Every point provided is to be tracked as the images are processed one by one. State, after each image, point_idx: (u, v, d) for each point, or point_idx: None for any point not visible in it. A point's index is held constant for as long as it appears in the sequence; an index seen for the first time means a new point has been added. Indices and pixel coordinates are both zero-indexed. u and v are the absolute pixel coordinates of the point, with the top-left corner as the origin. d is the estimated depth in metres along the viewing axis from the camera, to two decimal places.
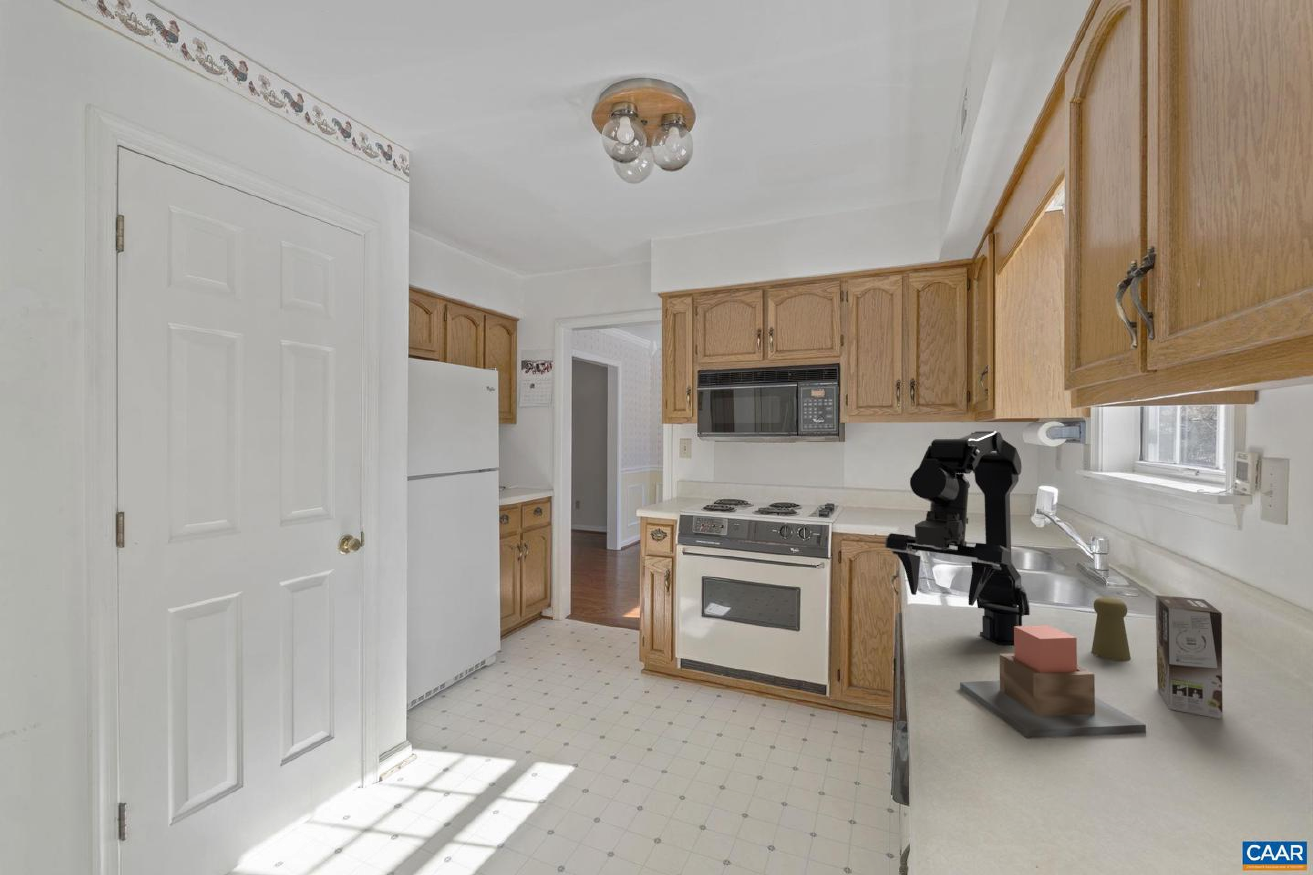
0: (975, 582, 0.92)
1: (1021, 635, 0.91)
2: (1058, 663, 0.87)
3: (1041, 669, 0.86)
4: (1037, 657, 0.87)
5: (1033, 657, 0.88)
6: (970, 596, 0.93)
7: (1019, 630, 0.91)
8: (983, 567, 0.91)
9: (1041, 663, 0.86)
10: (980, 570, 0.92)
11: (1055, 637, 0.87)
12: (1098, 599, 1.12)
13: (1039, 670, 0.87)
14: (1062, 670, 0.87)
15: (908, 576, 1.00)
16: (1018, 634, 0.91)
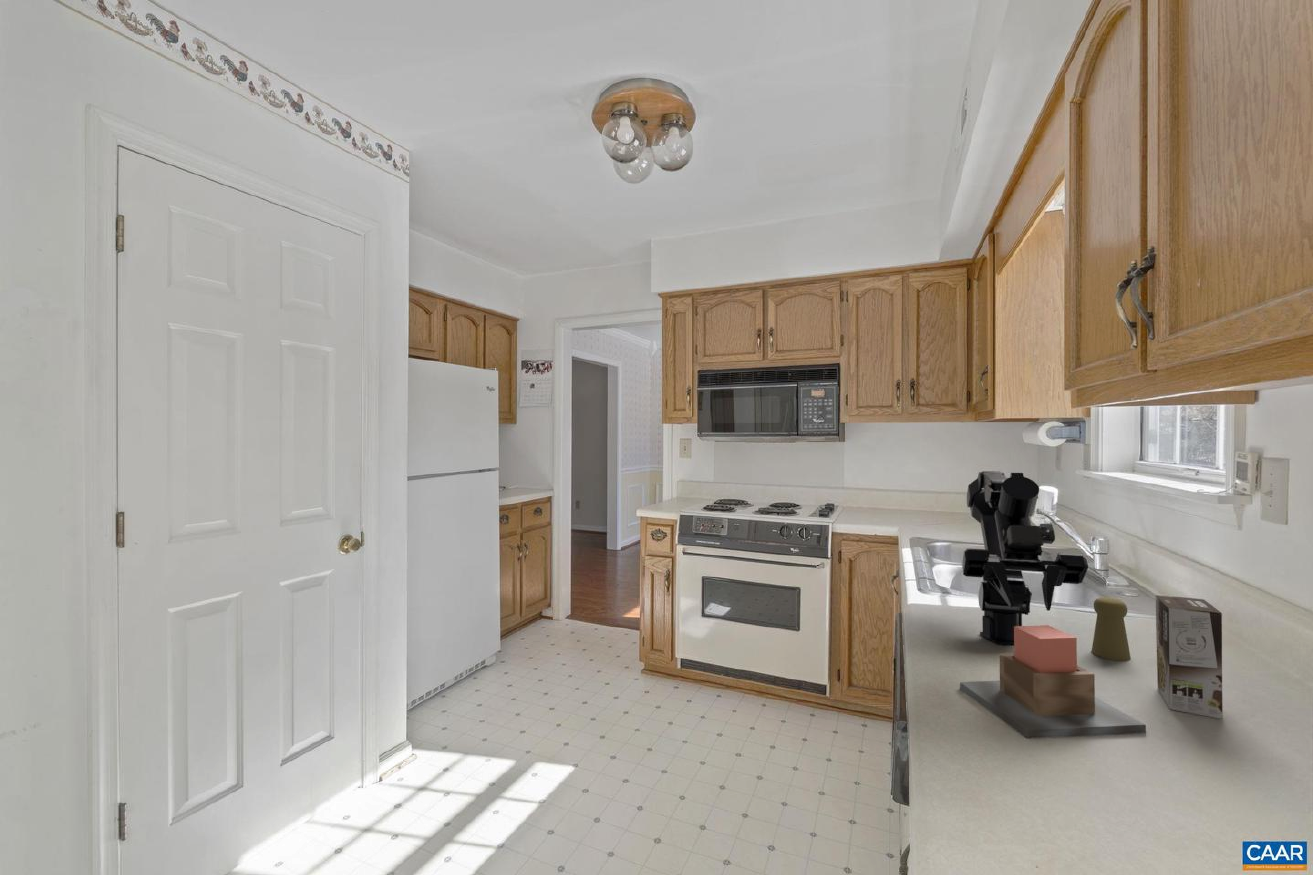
0: (1051, 586, 0.98)
1: (1021, 635, 0.91)
2: (1058, 663, 0.87)
3: (1041, 669, 0.86)
4: (1037, 657, 0.87)
5: (1033, 657, 0.88)
6: (1049, 599, 0.97)
7: (1019, 630, 0.91)
8: (1059, 570, 0.98)
9: (1041, 663, 0.86)
10: (1055, 574, 0.98)
11: (1055, 637, 0.87)
12: (1098, 599, 1.12)
13: (1039, 670, 0.87)
14: (1062, 670, 0.87)
15: (1005, 587, 1.00)
16: (1018, 634, 0.91)
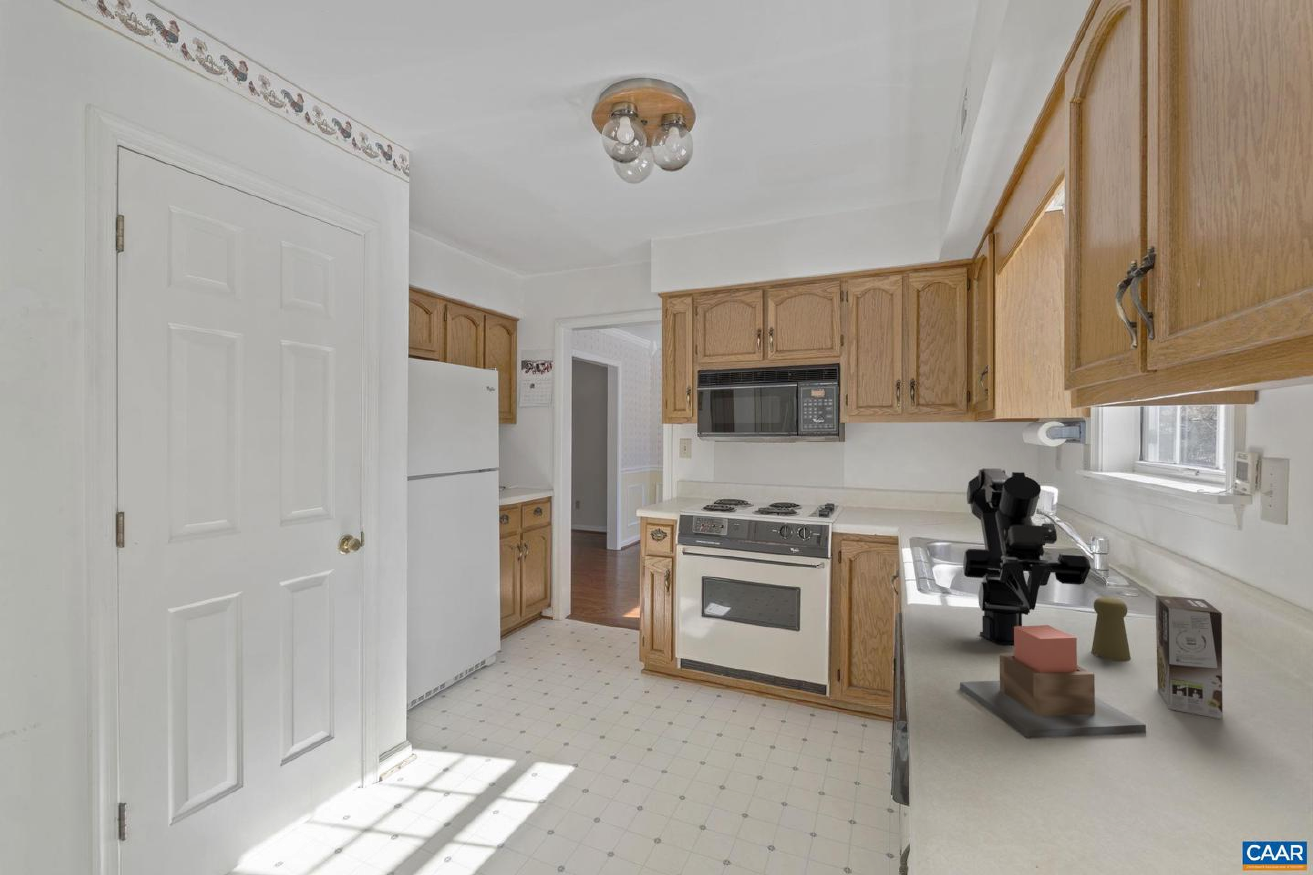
0: (1036, 585, 0.98)
1: (1021, 635, 0.91)
2: (1058, 663, 0.87)
3: (1041, 669, 0.86)
4: (1037, 657, 0.87)
5: (1033, 657, 0.88)
6: (1033, 598, 0.97)
7: (1019, 630, 0.91)
8: (1044, 569, 0.98)
9: (1041, 663, 0.86)
10: (1040, 573, 0.98)
11: (1055, 637, 0.87)
12: (1098, 599, 1.12)
13: (1039, 670, 0.87)
14: (1062, 670, 0.87)
15: (1023, 589, 0.98)
16: (1018, 634, 0.91)
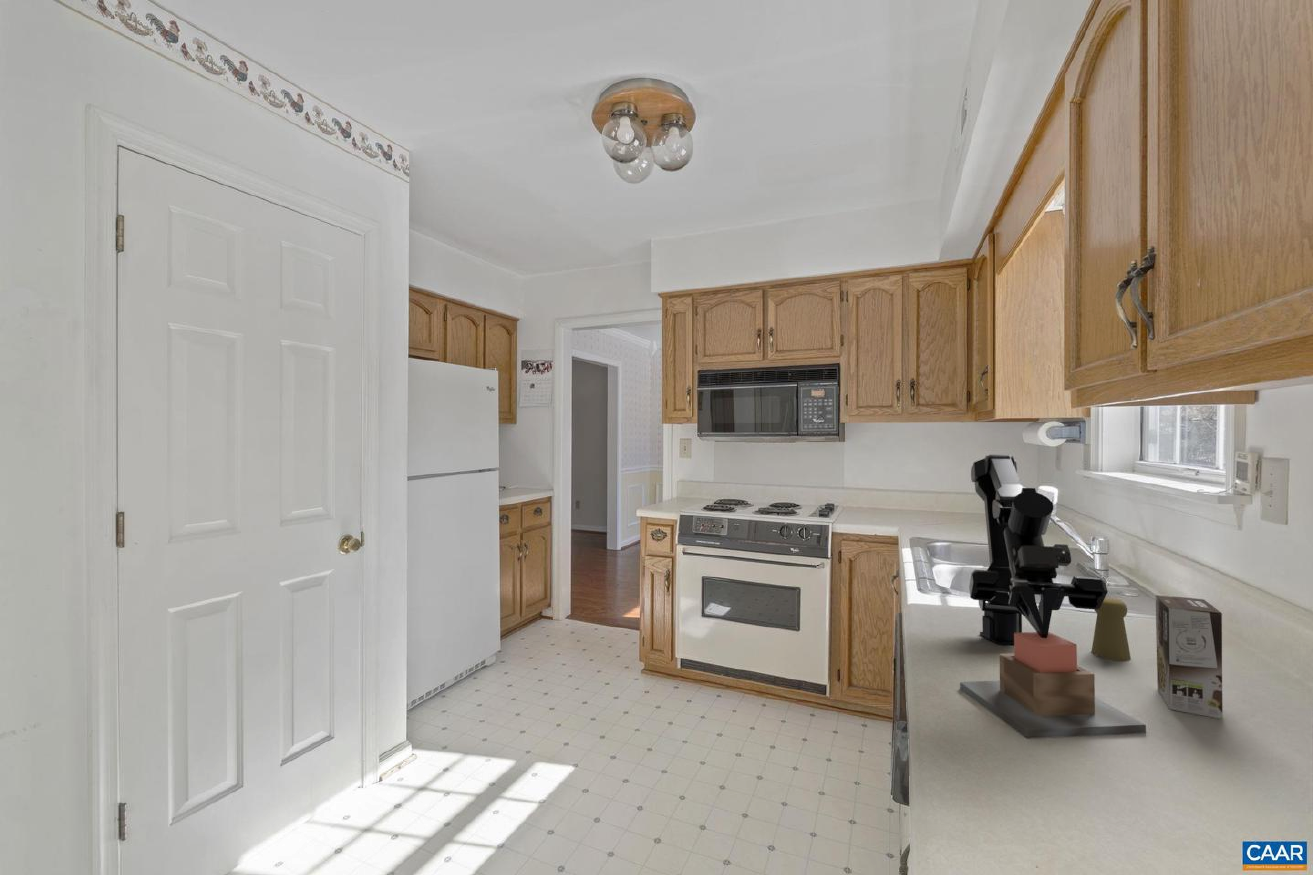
0: (1048, 611, 0.91)
1: (1021, 641, 0.91)
2: (1058, 670, 0.87)
3: None
4: (1037, 663, 0.87)
5: (1033, 664, 0.88)
6: (1046, 625, 0.90)
7: (1019, 636, 0.91)
8: (1057, 594, 0.91)
9: (1041, 670, 0.86)
10: (1052, 598, 0.91)
11: (1055, 644, 0.87)
12: None
13: None
14: None
15: (1034, 615, 0.91)
16: (1018, 640, 0.91)
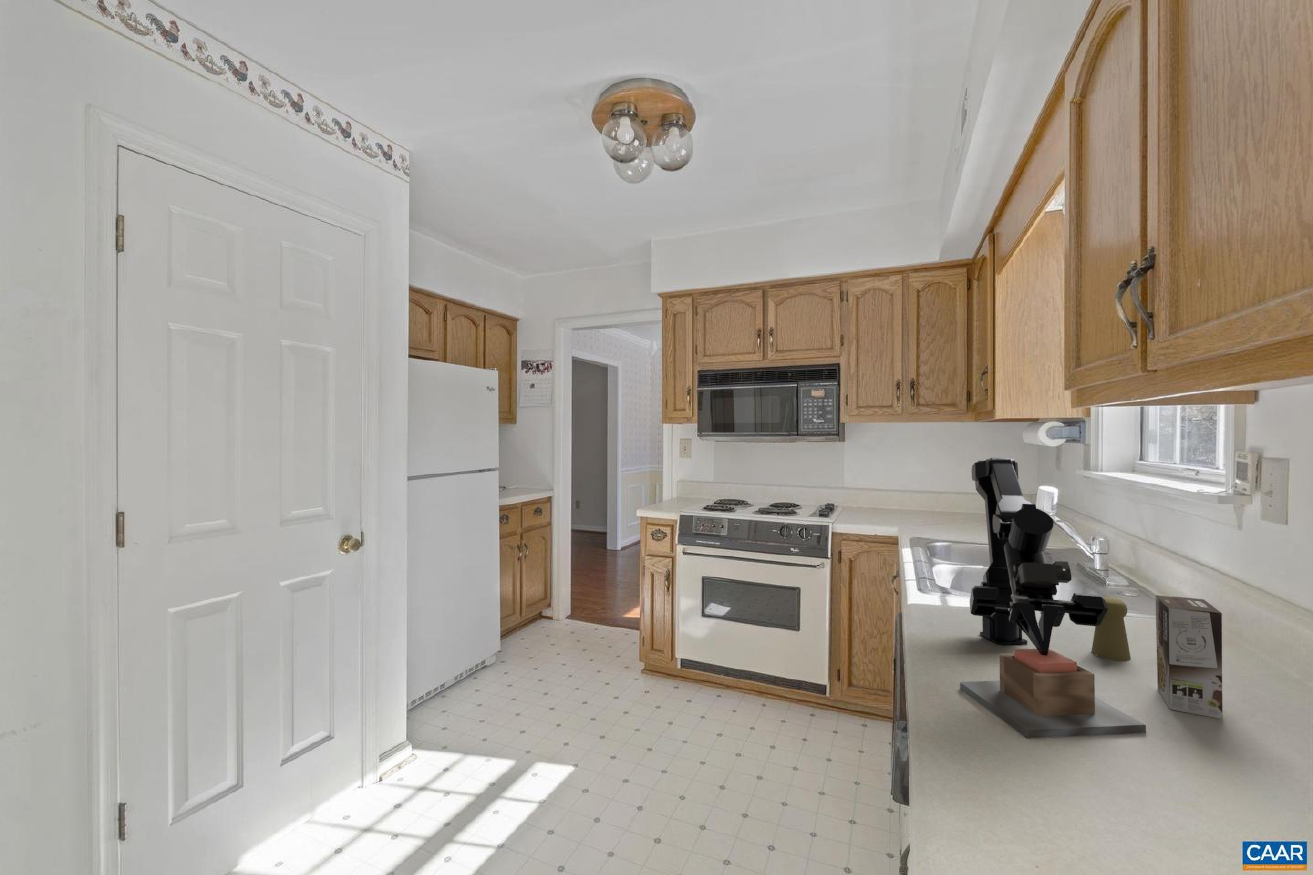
0: (1048, 628, 0.91)
1: (1021, 659, 0.91)
2: None
3: None
4: None
5: None
6: (1046, 643, 0.90)
7: (1019, 654, 0.91)
8: (1057, 611, 0.91)
9: None
10: (1053, 615, 0.91)
11: (1055, 662, 0.87)
12: None
13: None
14: None
15: (1035, 632, 0.91)
16: (1018, 657, 0.91)
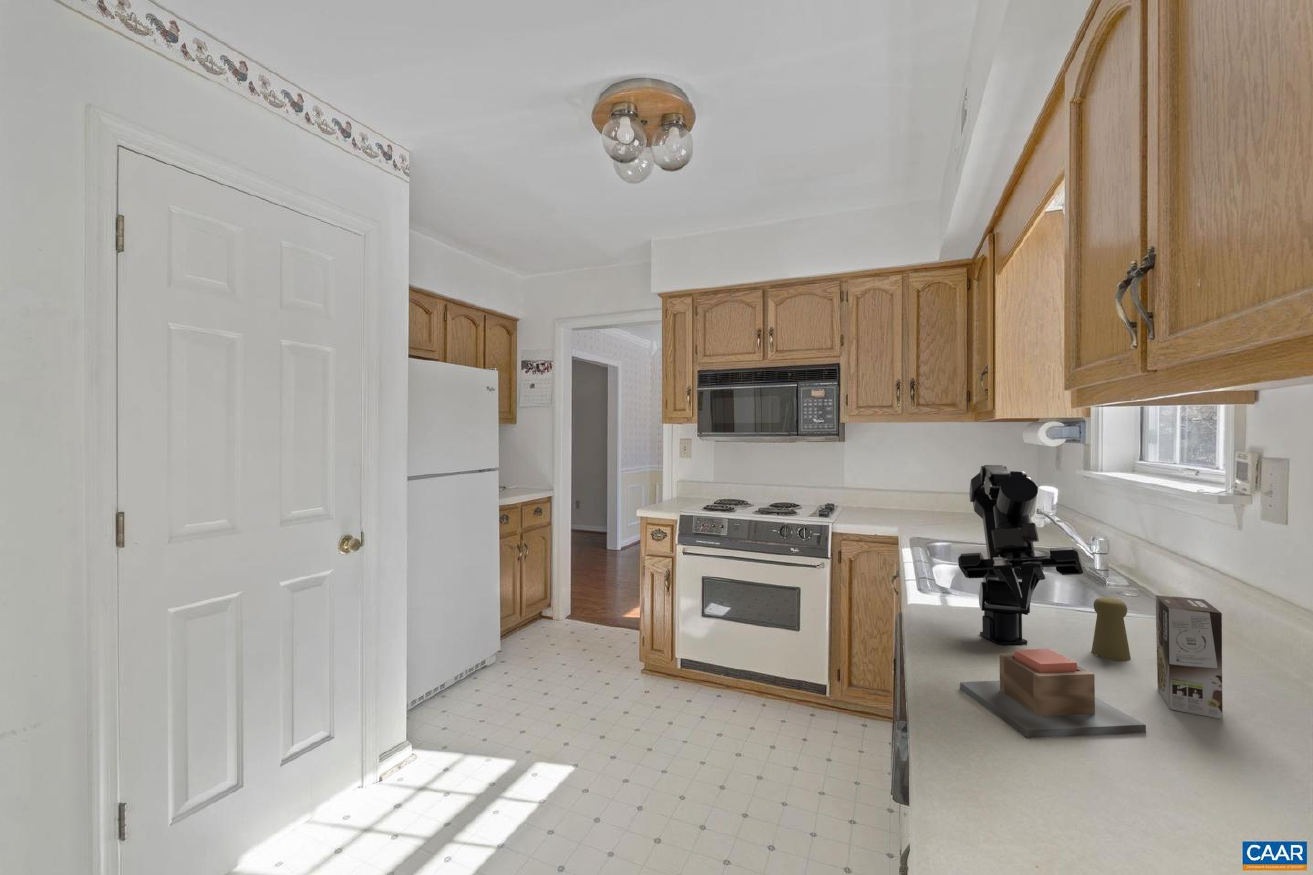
0: (1026, 585, 1.00)
1: (1021, 659, 0.91)
2: None
3: None
4: None
5: None
6: (1024, 599, 0.99)
7: (1019, 654, 0.91)
8: (1032, 568, 1.00)
9: None
10: (1029, 572, 1.00)
11: (1055, 662, 0.87)
12: (1098, 599, 1.12)
13: None
14: None
15: (1014, 590, 1.01)
16: (1018, 658, 0.91)
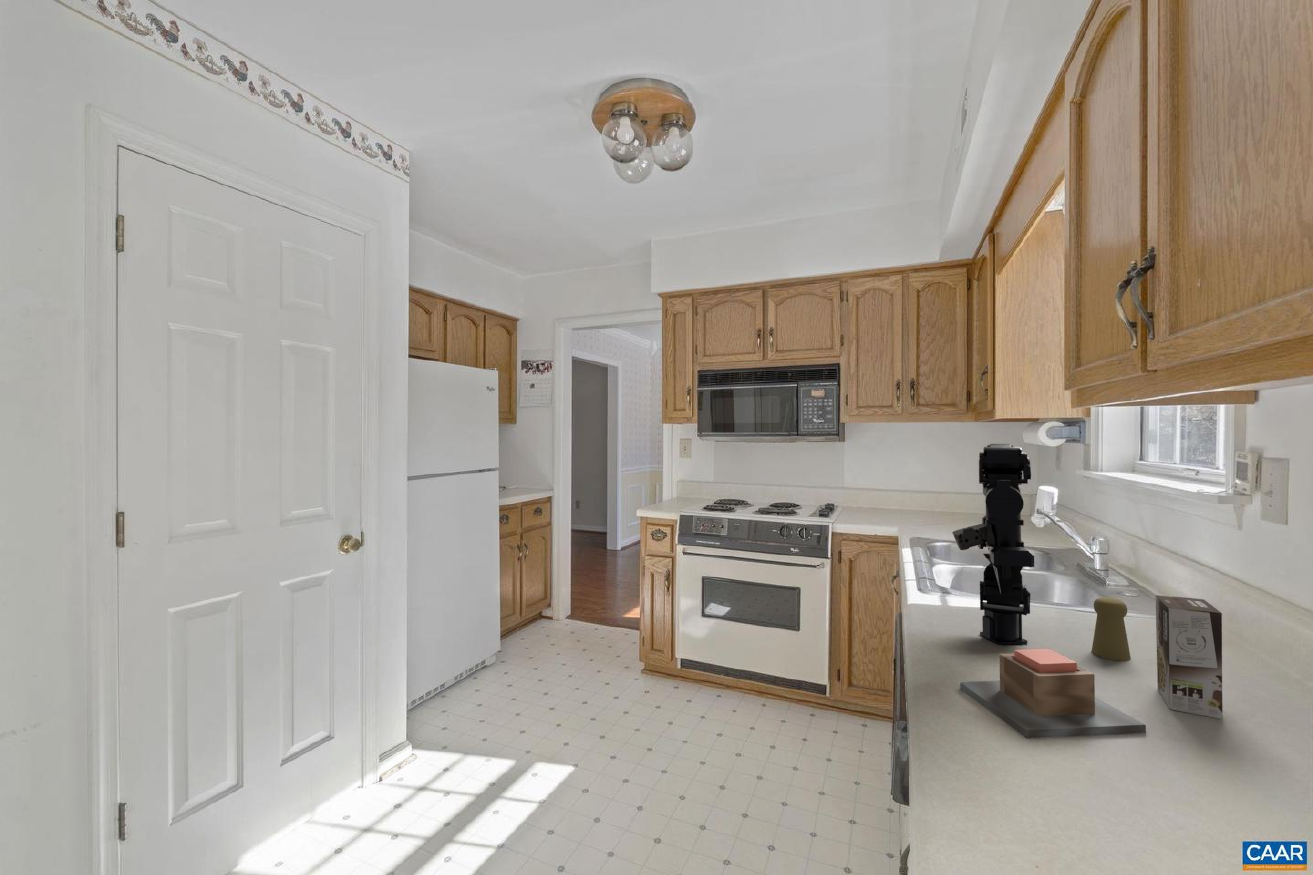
0: (997, 575, 1.07)
1: (1021, 659, 0.91)
2: None
3: None
4: None
5: None
6: (999, 587, 1.08)
7: (1019, 654, 0.91)
8: (991, 563, 1.07)
9: None
10: (993, 565, 1.07)
11: (1055, 662, 0.87)
12: (1098, 599, 1.12)
13: None
14: None
15: (996, 577, 1.09)
16: (1018, 658, 0.91)
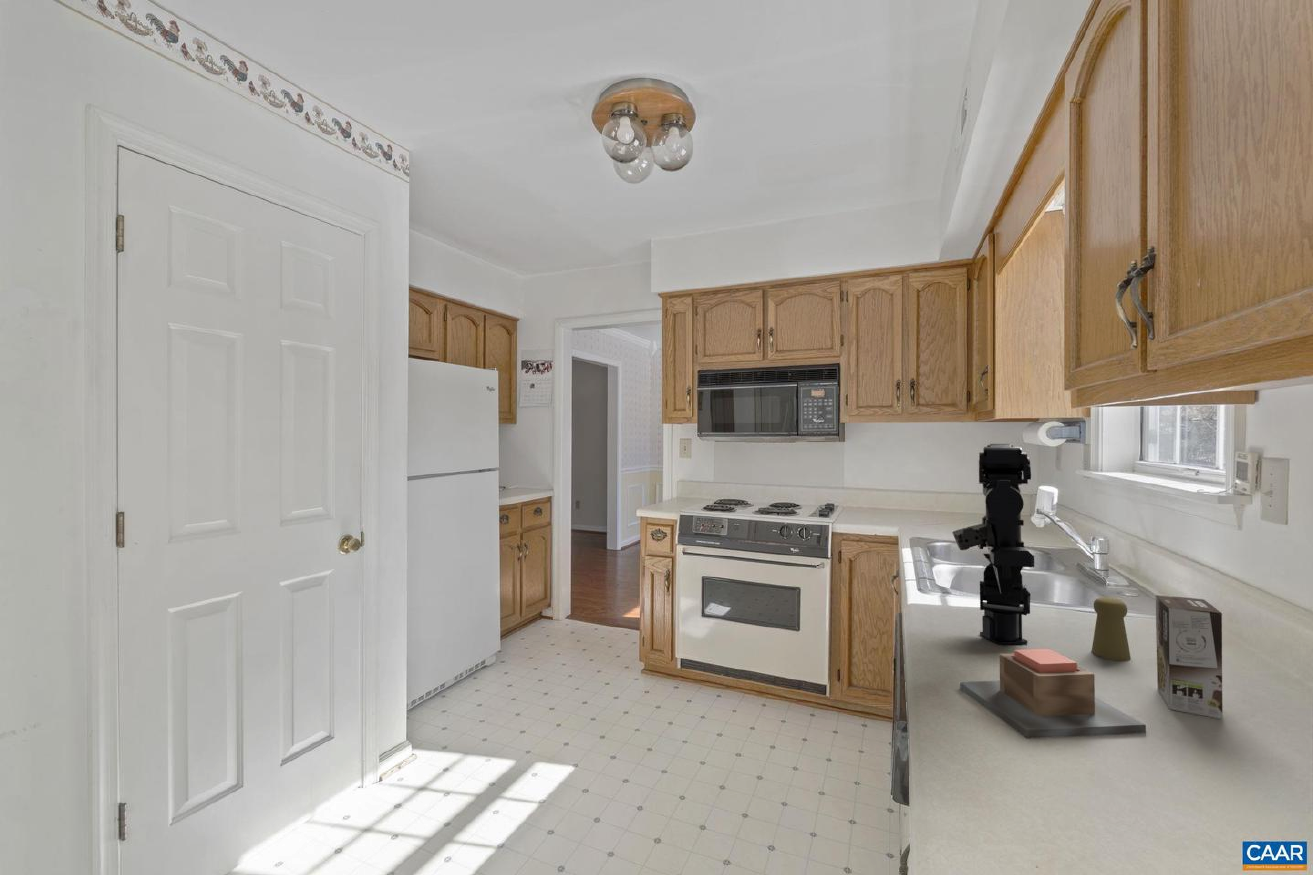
0: (997, 575, 1.07)
1: (1021, 659, 0.91)
2: None
3: None
4: None
5: None
6: (999, 587, 1.08)
7: (1019, 654, 0.91)
8: (991, 563, 1.07)
9: None
10: (993, 565, 1.07)
11: (1055, 662, 0.87)
12: (1098, 599, 1.12)
13: None
14: None
15: (996, 577, 1.09)
16: (1018, 658, 0.91)
